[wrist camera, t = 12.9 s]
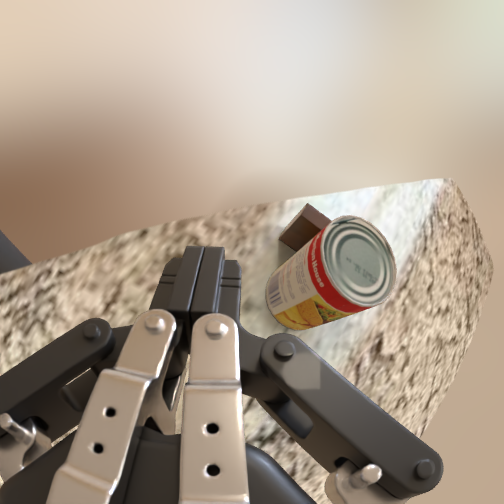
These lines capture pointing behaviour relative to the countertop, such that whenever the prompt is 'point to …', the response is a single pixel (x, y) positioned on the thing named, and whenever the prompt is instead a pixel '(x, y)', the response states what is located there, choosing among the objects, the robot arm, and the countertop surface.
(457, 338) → the countertop surface
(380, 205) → the countertop surface
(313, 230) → the brown rectangular block
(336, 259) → the canned food
